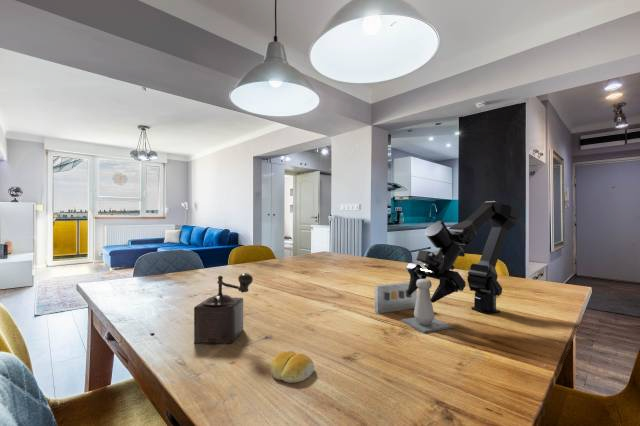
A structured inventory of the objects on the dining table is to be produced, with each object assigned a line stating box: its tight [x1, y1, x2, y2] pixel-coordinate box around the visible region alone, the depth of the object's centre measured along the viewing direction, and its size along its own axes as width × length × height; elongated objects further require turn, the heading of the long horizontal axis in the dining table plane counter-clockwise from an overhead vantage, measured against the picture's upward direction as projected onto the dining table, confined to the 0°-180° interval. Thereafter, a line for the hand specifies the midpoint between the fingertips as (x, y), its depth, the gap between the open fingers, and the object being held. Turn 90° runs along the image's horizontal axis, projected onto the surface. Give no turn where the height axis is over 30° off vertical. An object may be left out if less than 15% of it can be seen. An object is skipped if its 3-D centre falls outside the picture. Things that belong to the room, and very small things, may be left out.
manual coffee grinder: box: [193, 272, 254, 345], centre depth 83 cm, size 16×11×18 cm
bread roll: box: [270, 350, 315, 384], centre depth 64 cm, size 8×9×4 cm
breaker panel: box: [374, 281, 418, 315], centre depth 104 cm, size 16×3×9 cm, turn 111°
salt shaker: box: [413, 278, 435, 326], centre depth 90 cm, size 6×6×13 cm
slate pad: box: [401, 316, 453, 334], centre depth 91 cm, size 10×10×1 cm
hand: (419, 297), depth 90 cm, fingers open, 9 cm apart
